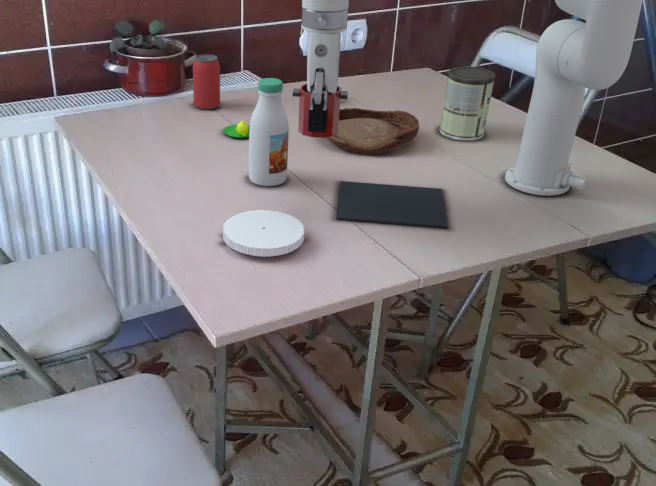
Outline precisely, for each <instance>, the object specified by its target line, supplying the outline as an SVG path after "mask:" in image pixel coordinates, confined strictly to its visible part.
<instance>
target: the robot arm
mask: <svg viewBox="0 0 656 486" xmlns="http://www.w3.org/2000/svg"><path fill="white" fill-rule="evenodd" d="M554 2H555V4H556V6H557V7H558V8H559V9H560V10H561V11H564V12H565V13H567V14H569V15H572V16H574V17H576V18H579V19H582V20H584V21H585V22H583V21H581V20H577V19H569V18H567V19H561V20H558V21H555V22H553V23H551V24H550V25H549V26H548V27H546V29H545V30H544V31H543V32H542V34H541V36H540V38H539V39H538V43H537V46H536V52H535V73H534V74H535V75H534V81H533V88H532V93H531V96H530V97H531V98H530V102H529V106H528V109H527V115H526V117H525V123H524V127H523V131H522V137H521V141H520V145H519V150H518V153H517V158H516V162H515V166H513V167H511V168H509V169H508V170H507V171H506V172H505V175H504V180H505V182H506V183H507V185H509V186H510V187H512V188H513V189H515V190H517V191H519V192H523V193H526V194H530V195H536V196H543V197H544V196H545V197H547V196H548V197H549V196H550V197H551V196H559V195H563V194H565V193H566V192H569V189H570V187H573V188H576V189H580V190H584V188H585V186H586V184H587V179H584V175H583V174H579V173H574V172H573V171H572V170H571V168H572V164H571V163H569V161H570V156H571V152H572V148H573V144H574V140H575V137H576V133H577V130H578V126H579V122H580V119H581V115H582V113H583V109H584V104H585V98H586V89H588V90H592V91H601V90H605V89H608V88H610V87H612V86H613V85H615V84H616V83H617V82H618V81H619V79H620V78H621V77H622V75H623V74H624V72H625V70H626V68H627V66H628V63H629V60H630V57H631V54H632V50H633V46H634V45H633V44H634V41H635V36H636V32H637V28H638V24H639V19H640V14H641V10H642V5H643V0H554ZM349 5H350V0H301V19H300V20H301V21H300V25H301V26H300V28H301V29H302V30H303V31H306V32H307V48H306V49H307V51H306V52H307V53H306V83H307V90H308V91H309V92H310V93H311V102H310V108H309V118H308V131H309V132H323V133H325V132H326V131H327V118H328V109H326V108H327V95H328V92H332V94H334V93H335V92H336V90H337V86H339V85H338V84H339V75H340V74H339V71H340V58H341V57H340V56H341V36H342V35H341V33H343V32H345V31H347V29H348V18H349ZM314 88H315V90H314ZM323 88H326V90H325V91H322V89H323ZM322 95H324V98H322ZM323 103H324V104H323Z"/></svg>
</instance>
